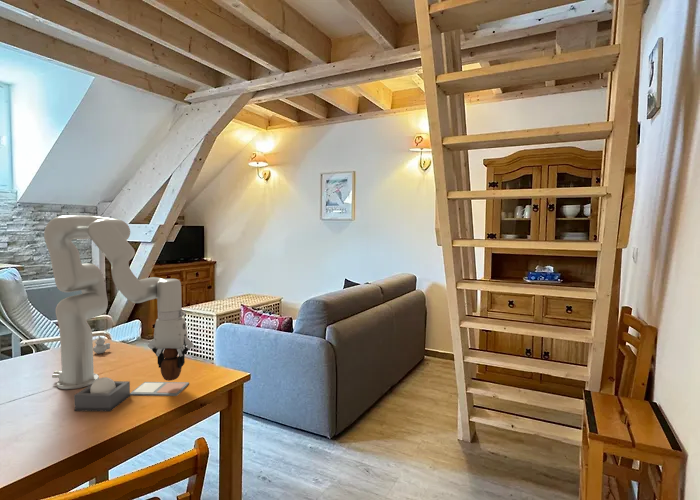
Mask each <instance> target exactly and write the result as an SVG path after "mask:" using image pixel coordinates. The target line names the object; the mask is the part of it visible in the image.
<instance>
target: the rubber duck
mask: <svg viewBox="0 0 700 500" xmlns="http://www.w3.org/2000/svg"><path fill="white" fill-rule="evenodd" d="M94 343H95V346H93V353H96V354H99V355H100V354H103V353H105V352H107V350H110V349H111V347H110V346H111V343H110V342H107V343H106V341H105V339H104V338H103V337H101V336H100V335H99V336H98V338H97V339H96V341H95V342H94Z"/></svg>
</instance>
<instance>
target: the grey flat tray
mask: <svg viewBox="0 0 700 500" xmlns="http://www.w3.org/2000/svg"><path fill="white" fill-rule="evenodd" d="M188 385H190V382H187V381H185V382H184V381H183V382H182V381H178V382H177V381H171V382H170V381H144V382H143V383H141V384H140V385H138V386H137V387H136V388H134V390H132V391H130V396H143V397H144V396H147V397H149V396H153V397H154V396H155V397H160V396H161V397H163V396H165V397H178V395H180V394H181V393H182V392H183V391H184V390H185V389H186V388H187V387H188Z"/></svg>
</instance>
